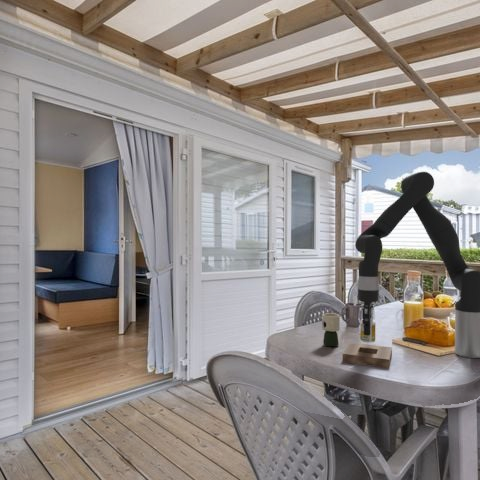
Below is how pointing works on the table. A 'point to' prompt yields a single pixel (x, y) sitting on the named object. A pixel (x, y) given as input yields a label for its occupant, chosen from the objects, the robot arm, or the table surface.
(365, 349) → the walnut bottle holder
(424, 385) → the table surface
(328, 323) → the character mug
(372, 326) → the supplement bottle
